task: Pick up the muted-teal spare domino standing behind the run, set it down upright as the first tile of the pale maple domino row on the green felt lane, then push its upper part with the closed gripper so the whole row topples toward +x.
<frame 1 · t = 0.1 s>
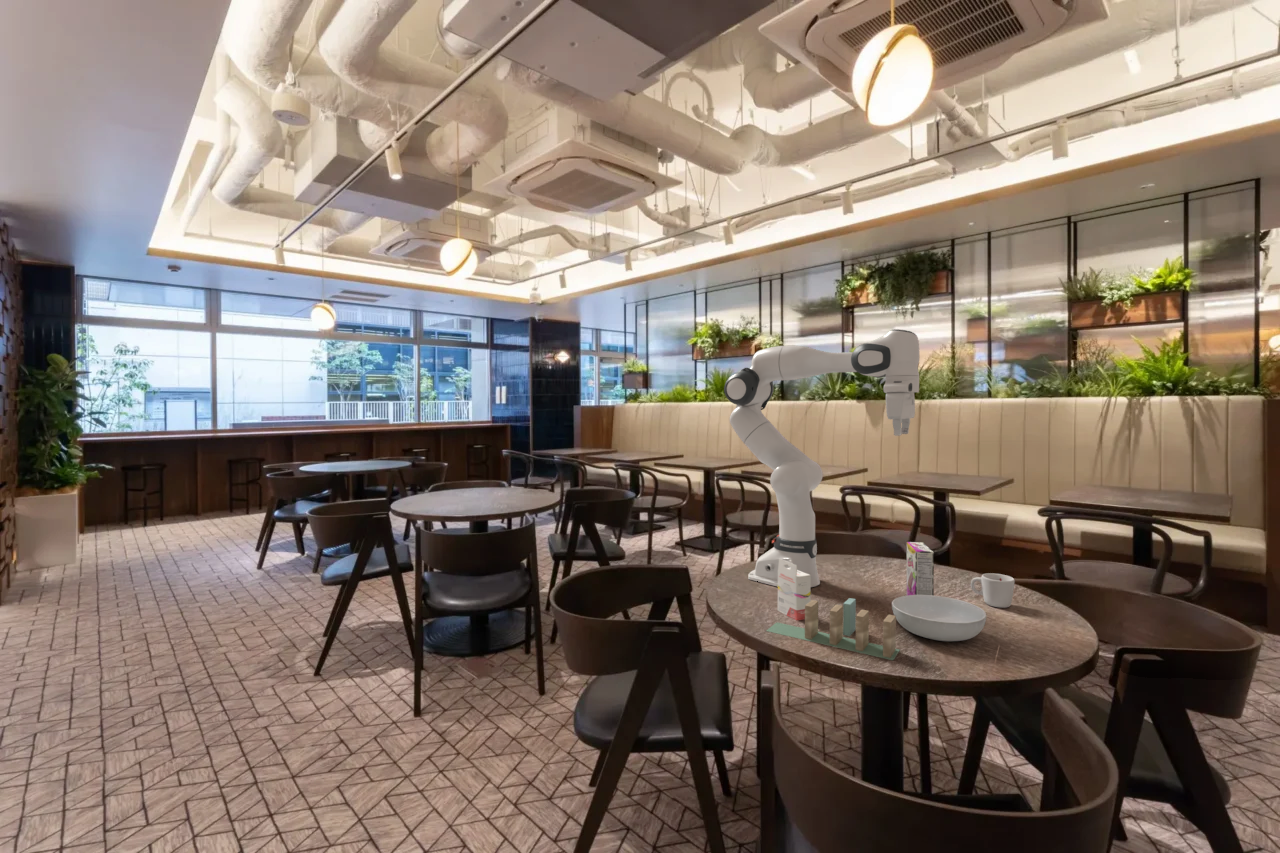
hand: (901, 434, 171), 48 cm above the table, fingers open, 8 cm apart
ink cartridge box: (793, 615, 161), on the table
serving bowl: (937, 635, 147), on the table
domino 1: (849, 633, 148), on the table
cup: (991, 604, 169), on the table
felt lane: (830, 640, 143), on the table
domino 3: (836, 641, 142), resting on felt lane
domino 4: (862, 646, 139), resting on felt lane
domino 5: (889, 653, 135), resting on felt lane
candy bar box: (919, 604, 169), on the table
domino 2: (811, 635, 146), resting on felt lane
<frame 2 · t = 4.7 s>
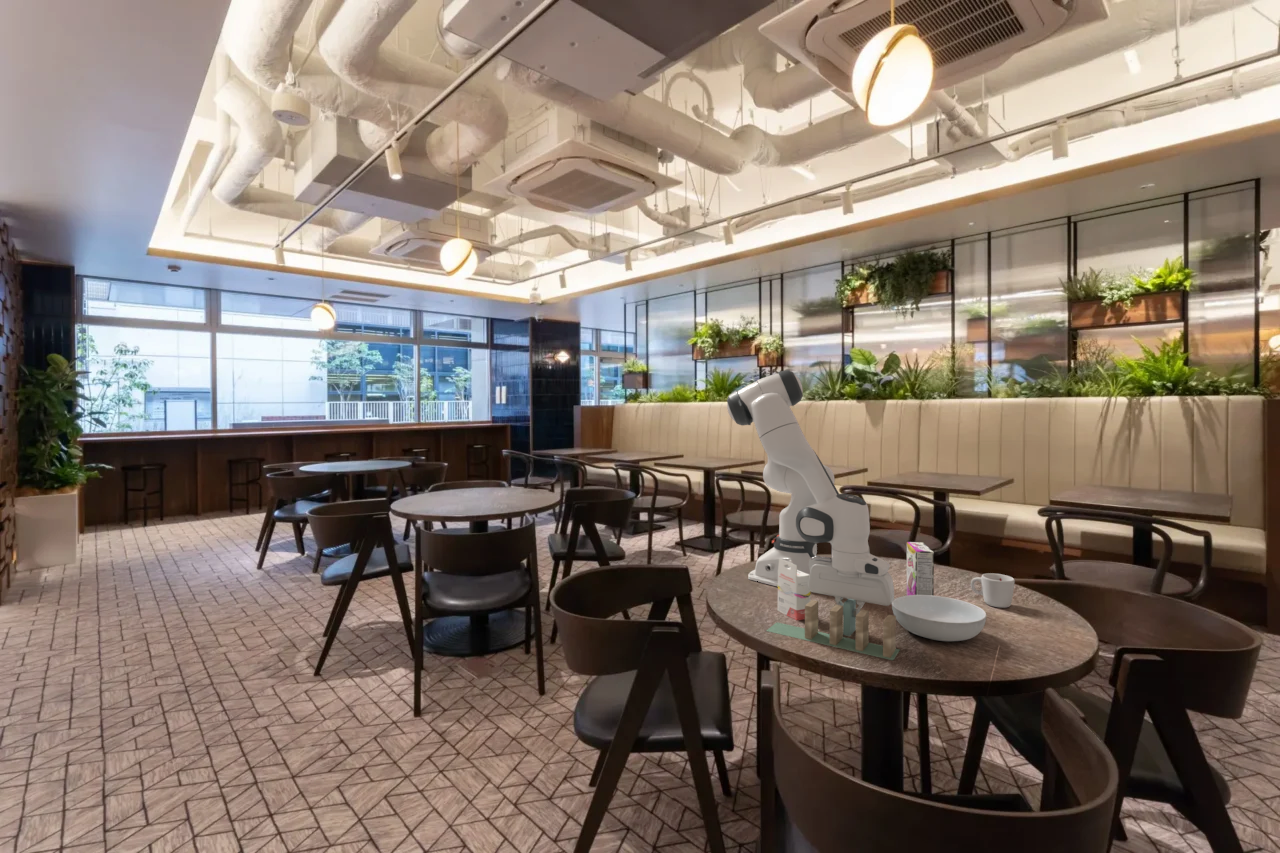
hand: (849, 615, 148), 4 cm above the table, fingers closed on domino 1, 2 cm apart
domino 1: (849, 632, 148), on the table, touching gripper
everything else where it was.
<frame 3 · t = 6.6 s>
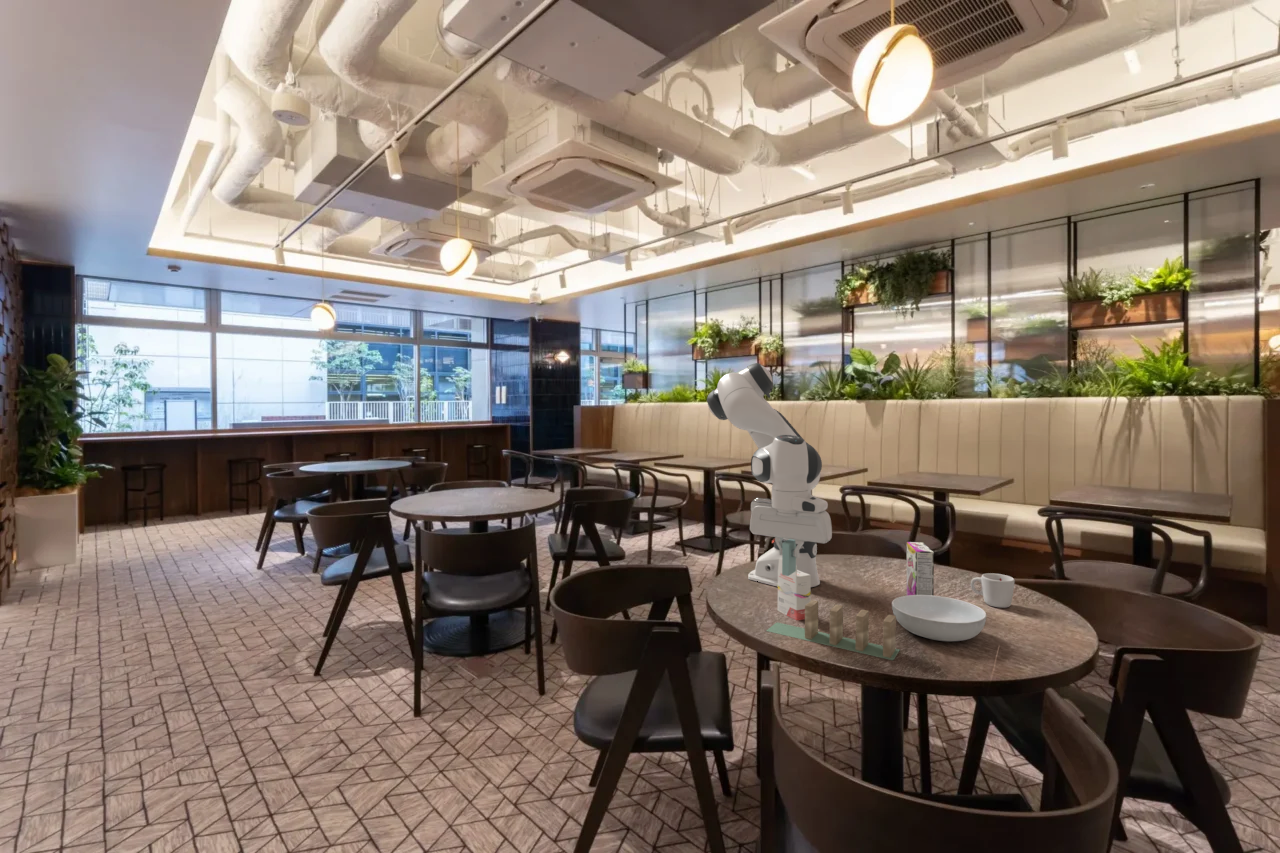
hand: (789, 555, 148), 19 cm above the table, fingers closed on domino 1
domino 1: (789, 573, 148), point 15 cm above the table, touching gripper
everything else where it was.
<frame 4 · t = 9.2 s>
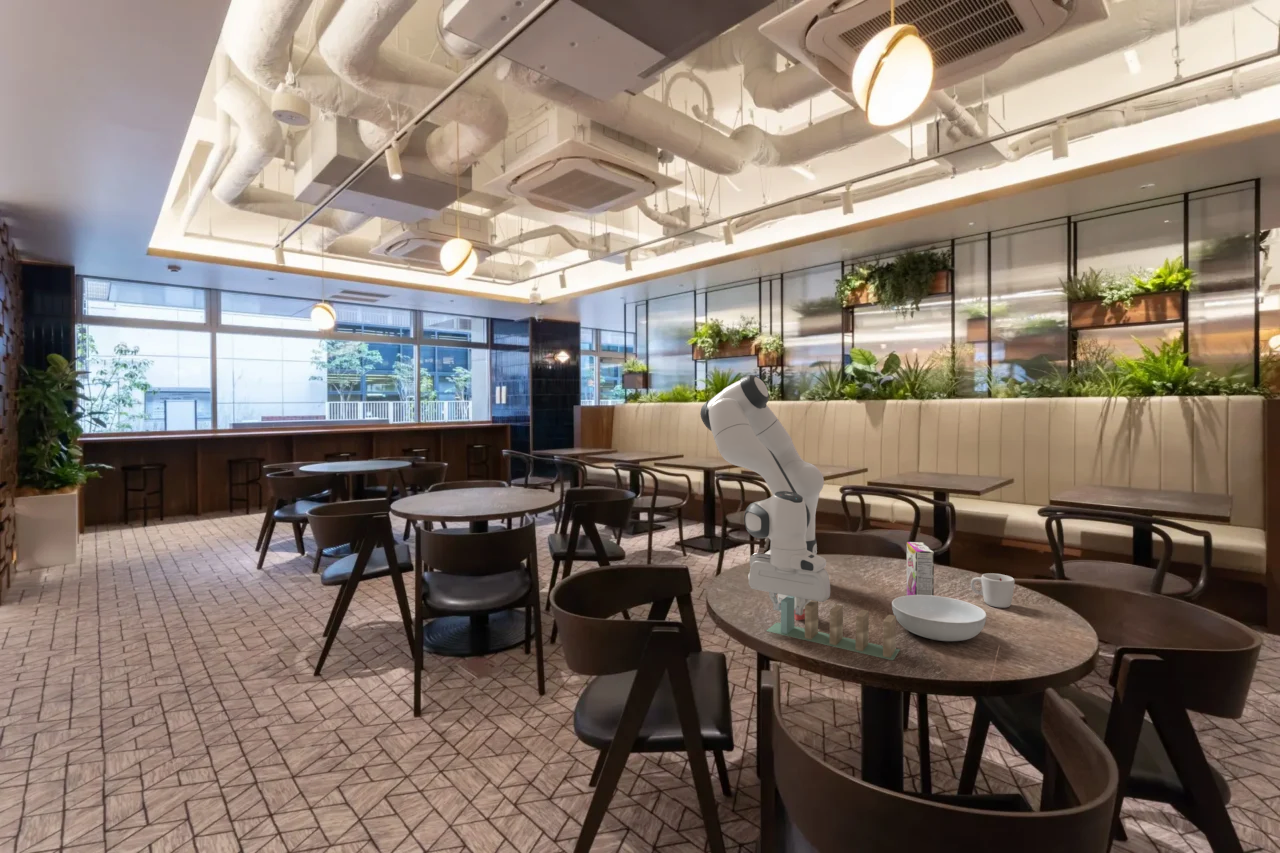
hand: (788, 612, 149), 5 cm above the table, fingers open, 4 cm apart
domino 1: (787, 630, 149), resting on felt lane
everything else where it was.
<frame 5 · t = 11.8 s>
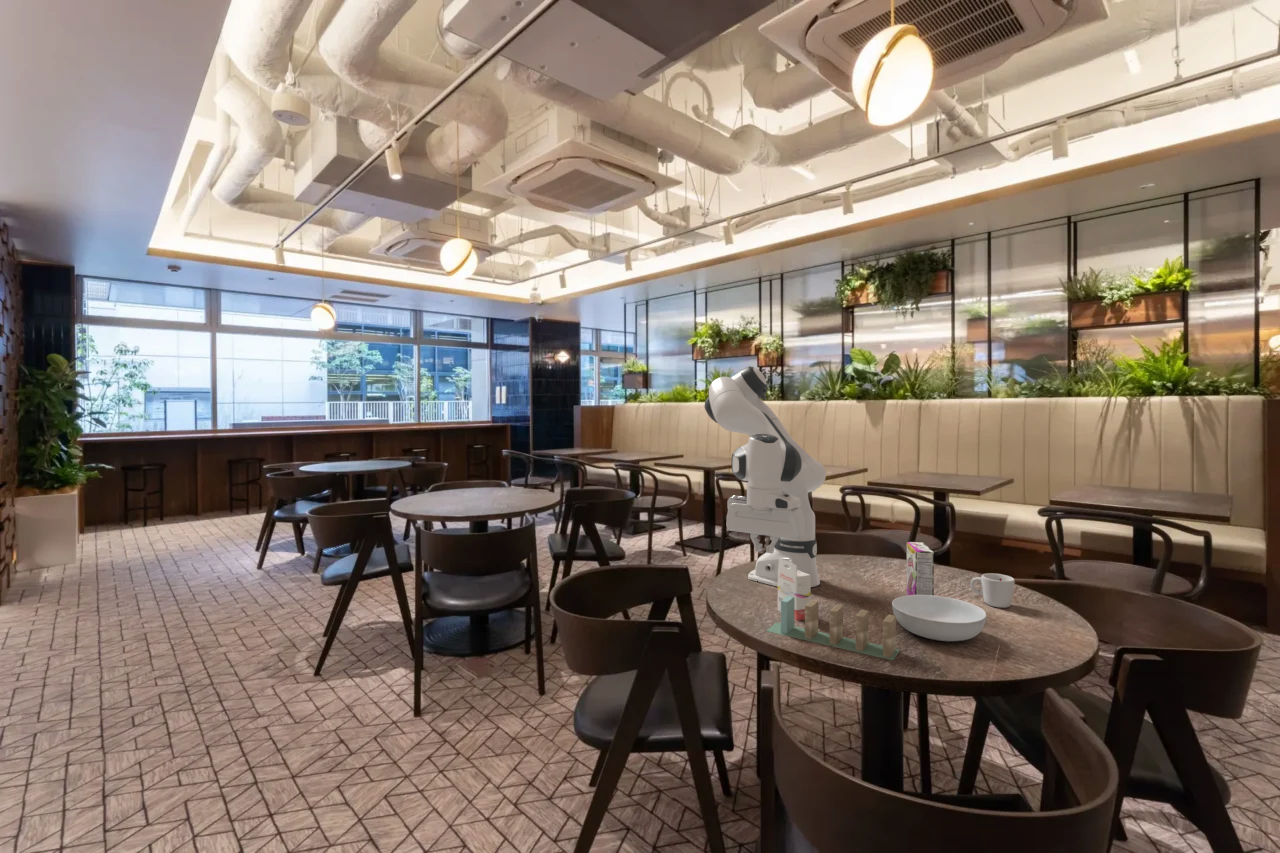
hand: (764, 551, 152), 19 cm above the table, fingers closed
nothing on the table moved.
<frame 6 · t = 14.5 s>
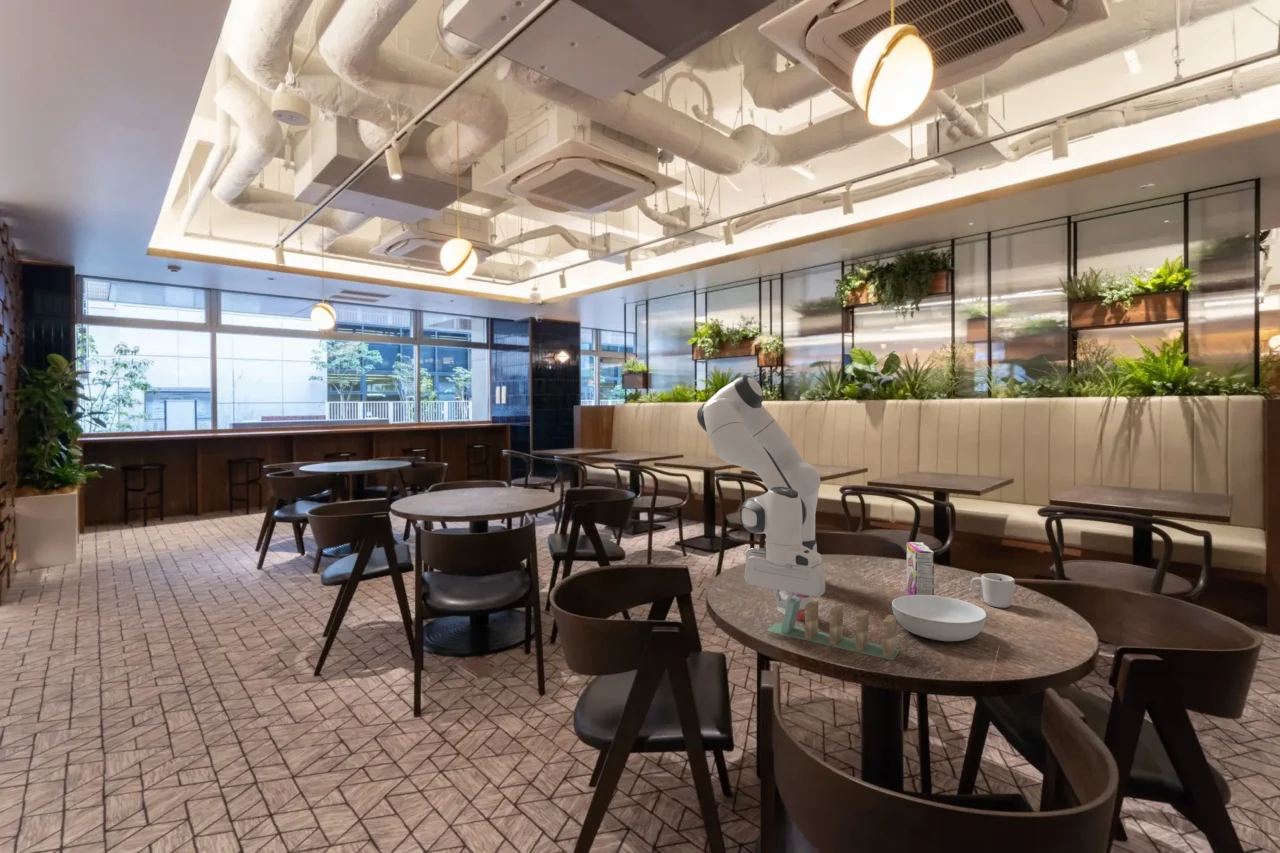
hand: (783, 607, 149), 6 cm above the table, fingers closed
domino 1: (787, 629, 149), resting on felt lane, tilted 13°
everything else where it was.
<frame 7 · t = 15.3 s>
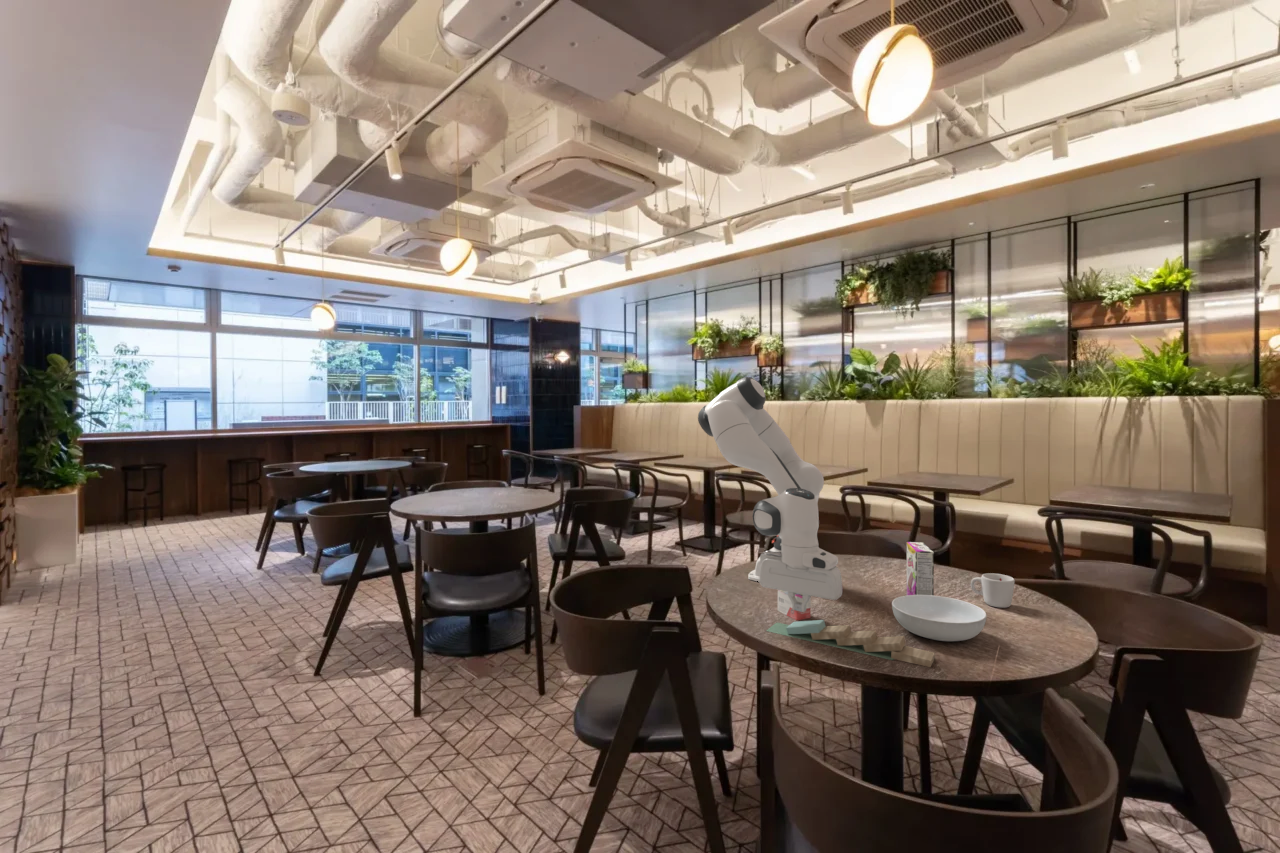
hand: (799, 610, 147), 6 cm above the table, fingers closed
domino 1: (790, 627, 149), point 1 cm above the table, tilted 75°, touching domino 2, felt lane
domino 3: (840, 638, 142), point 1 cm above the table, tilted 75°, touching domino 2, felt lane
domino 4: (867, 644, 138), point 1 cm above the table, tilted 74°, touching domino 5, felt lane
domino 5: (893, 650, 135), point 1 cm above the table, tilted 92°, touching domino 4, felt lane
domino 2: (815, 633, 145), point 1 cm above the table, tilted 75°, touching domino 1, domino 3, felt lane
everything else where it was.
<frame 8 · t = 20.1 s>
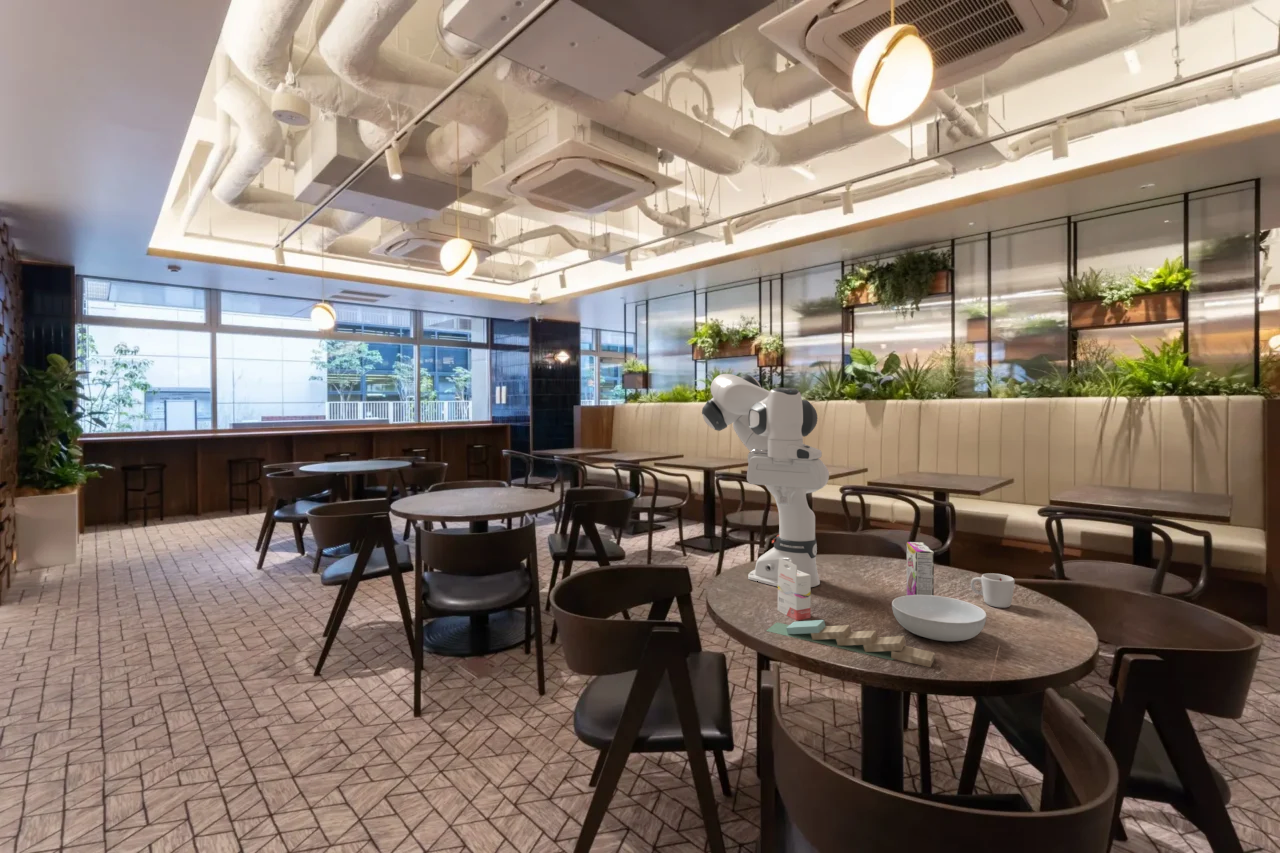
hand: (784, 503, 154), 31 cm above the table, fingers closed
domino 3: (840, 638, 142), point 1 cm above the table, tilted 75°, touching domino 2, domino 4, felt lane
domino 4: (866, 644, 138), point 1 cm above the table, tilted 74°, touching domino 3, domino 5, felt lane
everything else where it was.
at the end: domino 5 tilted 92°; domino 1 tilted 75°; domino 1 inside the target area (0.8 cm from its centre), point 1.0 cm above the table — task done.
